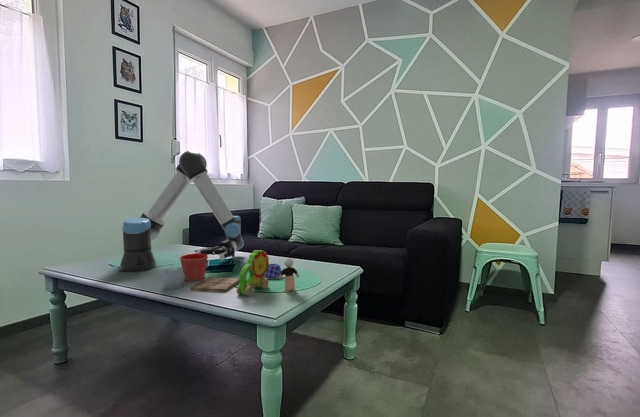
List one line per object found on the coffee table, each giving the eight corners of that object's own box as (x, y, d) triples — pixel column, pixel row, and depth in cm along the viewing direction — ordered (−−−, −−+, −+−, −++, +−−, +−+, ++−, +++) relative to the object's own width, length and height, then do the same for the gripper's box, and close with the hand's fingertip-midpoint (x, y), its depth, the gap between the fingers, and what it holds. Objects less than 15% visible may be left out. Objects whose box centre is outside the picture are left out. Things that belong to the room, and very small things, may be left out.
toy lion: (247, 298, 117) (247, 255, 116) (235, 295, 120) (234, 254, 118) (272, 285, 132) (272, 248, 130) (261, 283, 134) (260, 246, 133)
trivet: (190, 290, 125) (190, 286, 125) (208, 279, 139) (208, 276, 139) (225, 292, 123) (225, 288, 123) (240, 281, 137) (240, 277, 137)
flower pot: (199, 282, 135) (198, 259, 134) (175, 281, 137) (174, 258, 136) (212, 275, 145) (212, 254, 145) (190, 274, 147) (189, 252, 147)
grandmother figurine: (295, 288, 128) (295, 256, 127) (300, 290, 125) (300, 258, 124) (277, 291, 124) (277, 258, 123) (281, 294, 121) (281, 260, 120)
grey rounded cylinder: (160, 289, 127) (159, 271, 126) (171, 283, 134) (170, 266, 133) (176, 290, 126) (176, 272, 125) (186, 284, 133) (186, 267, 132)
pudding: (292, 276, 146) (292, 264, 145) (271, 282, 137) (271, 270, 136) (274, 271, 154) (274, 260, 153) (253, 277, 144) (253, 265, 144)
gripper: (249, 255, 170) (232, 266, 149) (204, 254, 174) (181, 264, 153) (249, 241, 169) (231, 249, 148) (203, 240, 173) (180, 248, 152)
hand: (206, 257), depth 150 cm, fingers open, 13 cm apart
